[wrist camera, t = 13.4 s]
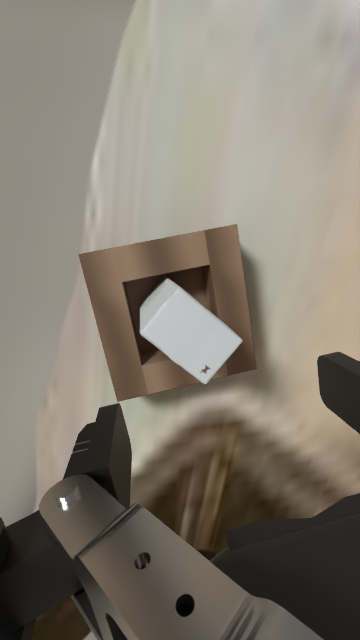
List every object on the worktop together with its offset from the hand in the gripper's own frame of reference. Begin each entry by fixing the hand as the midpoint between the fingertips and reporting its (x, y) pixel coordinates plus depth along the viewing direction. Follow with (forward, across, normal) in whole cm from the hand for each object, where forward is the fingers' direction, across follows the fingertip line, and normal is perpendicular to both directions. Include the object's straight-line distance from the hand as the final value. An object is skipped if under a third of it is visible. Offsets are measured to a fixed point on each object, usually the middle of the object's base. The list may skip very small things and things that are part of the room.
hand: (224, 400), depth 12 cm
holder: (+21, 0, 0) cm, 21 cm away
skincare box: (+20, 0, 0) cm, 21 cm away
